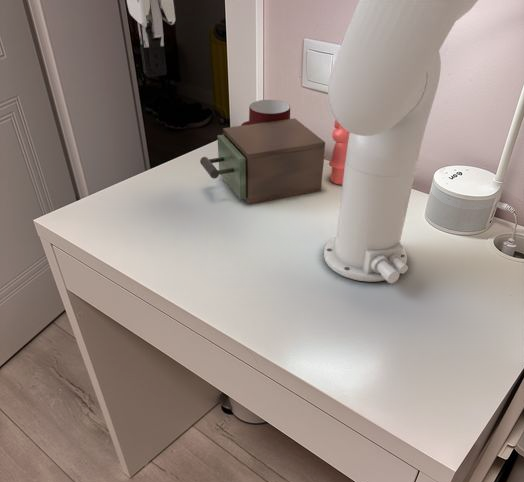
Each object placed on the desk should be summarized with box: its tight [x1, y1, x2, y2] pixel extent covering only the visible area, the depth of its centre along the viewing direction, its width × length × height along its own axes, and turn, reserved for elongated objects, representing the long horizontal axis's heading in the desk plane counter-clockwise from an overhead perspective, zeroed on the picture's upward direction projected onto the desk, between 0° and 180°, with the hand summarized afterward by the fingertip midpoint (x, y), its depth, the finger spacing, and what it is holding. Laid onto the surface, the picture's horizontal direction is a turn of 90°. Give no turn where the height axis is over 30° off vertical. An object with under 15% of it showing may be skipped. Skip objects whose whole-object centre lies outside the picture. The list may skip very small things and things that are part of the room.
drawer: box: [199, 134, 247, 200], centre depth 98 cm, size 18×11×7 cm, turn 113°
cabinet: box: [222, 117, 326, 205], centre depth 99 cm, size 15×13×9 cm
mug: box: [240, 99, 291, 126], centre depth 107 cm, size 11×8×10 cm
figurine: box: [328, 118, 350, 186], centre depth 98 cm, size 5×5×15 cm
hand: (155, 74), depth 82 cm, fingers closed
